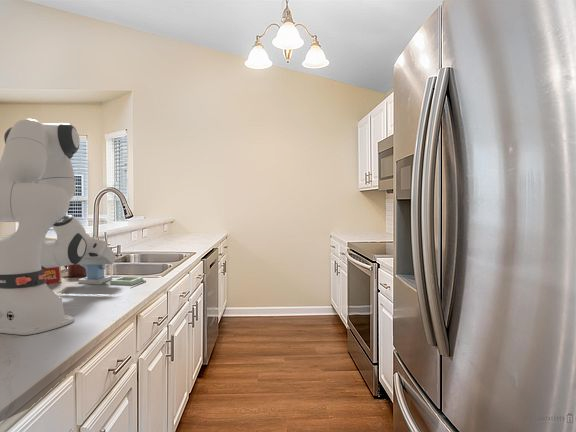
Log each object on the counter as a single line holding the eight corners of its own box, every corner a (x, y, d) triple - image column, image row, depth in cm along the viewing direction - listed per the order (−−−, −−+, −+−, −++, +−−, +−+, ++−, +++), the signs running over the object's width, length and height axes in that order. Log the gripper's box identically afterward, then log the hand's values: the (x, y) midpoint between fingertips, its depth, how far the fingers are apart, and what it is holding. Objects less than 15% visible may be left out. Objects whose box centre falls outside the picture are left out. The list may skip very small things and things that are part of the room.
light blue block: (97, 282, 159) (97, 255, 159) (87, 282, 159) (86, 254, 159) (104, 280, 164) (103, 253, 163) (93, 280, 164) (93, 253, 164)
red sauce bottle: (41, 287, 154) (40, 236, 153) (28, 285, 159) (27, 235, 158) (64, 283, 162) (63, 235, 161) (51, 281, 167) (50, 234, 166)
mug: (93, 277, 176) (92, 254, 176) (77, 280, 168) (76, 256, 168) (72, 275, 180) (72, 253, 180) (55, 278, 172) (55, 255, 171)
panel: (146, 282, 165) (146, 276, 164) (130, 288, 153) (130, 282, 153) (93, 280, 168) (93, 274, 168) (74, 286, 156) (74, 280, 156)
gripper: (52, 253, 151) (69, 274, 161) (103, 253, 149) (117, 274, 159) (59, 240, 155) (75, 261, 165) (109, 241, 153) (122, 262, 163)
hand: (96, 268), depth 162 cm, fingers open, 5 cm apart
